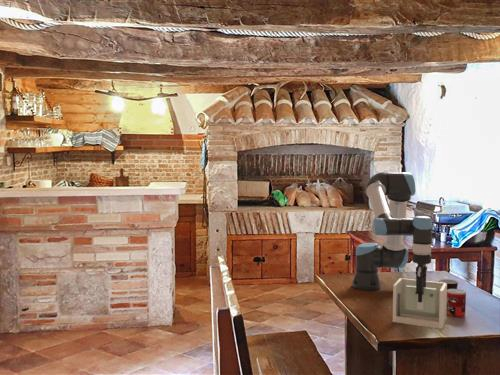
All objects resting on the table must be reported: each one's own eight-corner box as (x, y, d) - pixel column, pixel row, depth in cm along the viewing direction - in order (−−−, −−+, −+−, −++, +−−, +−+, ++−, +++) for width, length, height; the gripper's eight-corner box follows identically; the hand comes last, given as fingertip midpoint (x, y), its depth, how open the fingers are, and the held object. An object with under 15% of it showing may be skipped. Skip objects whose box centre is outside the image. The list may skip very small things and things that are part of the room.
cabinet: (392, 321, 224) (393, 285, 223) (399, 312, 237) (400, 278, 236) (441, 329, 215) (442, 290, 214) (446, 319, 228) (447, 283, 226)
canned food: (443, 312, 237) (443, 288, 236) (460, 312, 237) (460, 288, 237) (450, 318, 229) (451, 293, 228) (468, 317, 230) (469, 293, 229)
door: (405, 309, 222) (405, 286, 222) (406, 308, 225) (406, 285, 224) (434, 313, 217) (435, 290, 216) (435, 312, 219) (436, 288, 219)
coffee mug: (459, 304, 249) (459, 284, 248) (439, 303, 251) (440, 283, 250) (454, 297, 260) (455, 278, 260) (436, 297, 262) (436, 277, 261)
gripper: (428, 257, 211) (427, 314, 213) (433, 250, 224) (432, 304, 226) (409, 255, 214) (408, 312, 216) (415, 249, 228) (414, 302, 229)
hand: (420, 308), depth 221 cm, fingers closed on door, 2 cm apart
